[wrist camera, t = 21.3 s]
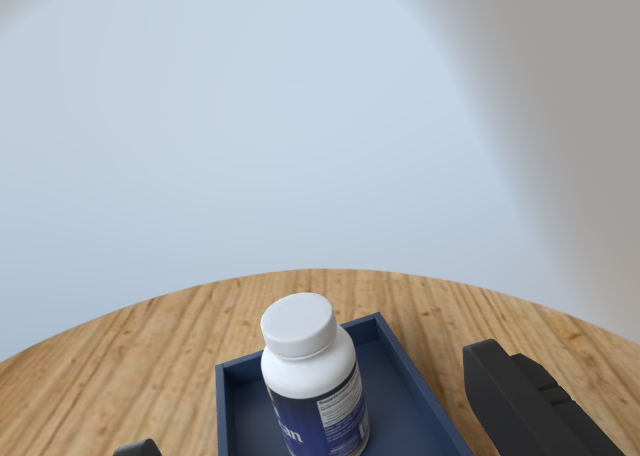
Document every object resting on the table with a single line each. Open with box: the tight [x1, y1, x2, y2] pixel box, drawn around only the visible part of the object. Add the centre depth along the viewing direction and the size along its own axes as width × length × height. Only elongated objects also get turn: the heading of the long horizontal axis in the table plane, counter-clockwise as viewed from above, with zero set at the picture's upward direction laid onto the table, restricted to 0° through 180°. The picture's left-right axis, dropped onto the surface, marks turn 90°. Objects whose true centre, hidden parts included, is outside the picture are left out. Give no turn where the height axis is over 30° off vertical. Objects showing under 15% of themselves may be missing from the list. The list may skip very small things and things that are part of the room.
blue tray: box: [215, 312, 474, 456], centre depth 26 cm, size 13×14×3 cm
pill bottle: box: [261, 293, 370, 456], centre depth 24 cm, size 5×5×10 cm
